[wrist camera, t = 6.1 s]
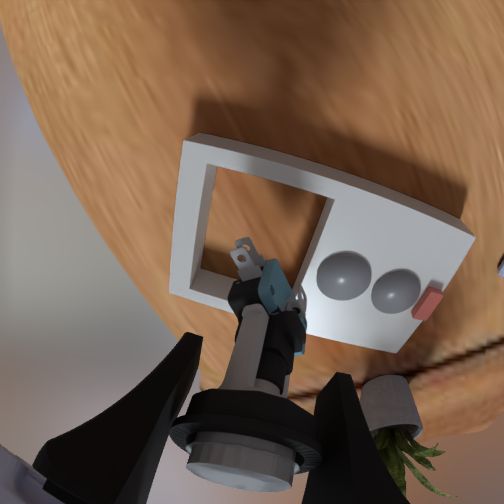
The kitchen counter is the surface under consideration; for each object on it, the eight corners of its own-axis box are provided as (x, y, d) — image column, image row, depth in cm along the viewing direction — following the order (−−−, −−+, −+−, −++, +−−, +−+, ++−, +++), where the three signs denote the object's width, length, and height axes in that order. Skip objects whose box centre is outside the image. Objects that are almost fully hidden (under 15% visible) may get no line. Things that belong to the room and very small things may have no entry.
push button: (200, 248, 15) (99, 419, 7) (297, 214, 13) (260, 435, 5) (255, 336, 18) (213, 490, 9) (339, 317, 16) (335, 495, 7)
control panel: (460, 219, 16) (480, 242, 13) (391, 331, 22) (397, 359, 20) (199, 132, 17) (179, 142, 14) (181, 272, 23) (165, 297, 20)
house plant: (283, 395, 30) (257, 532, 16) (368, 326, 22) (376, 529, 9) (373, 423, 31) (370, 535, 18) (457, 369, 24) (481, 506, 10)
